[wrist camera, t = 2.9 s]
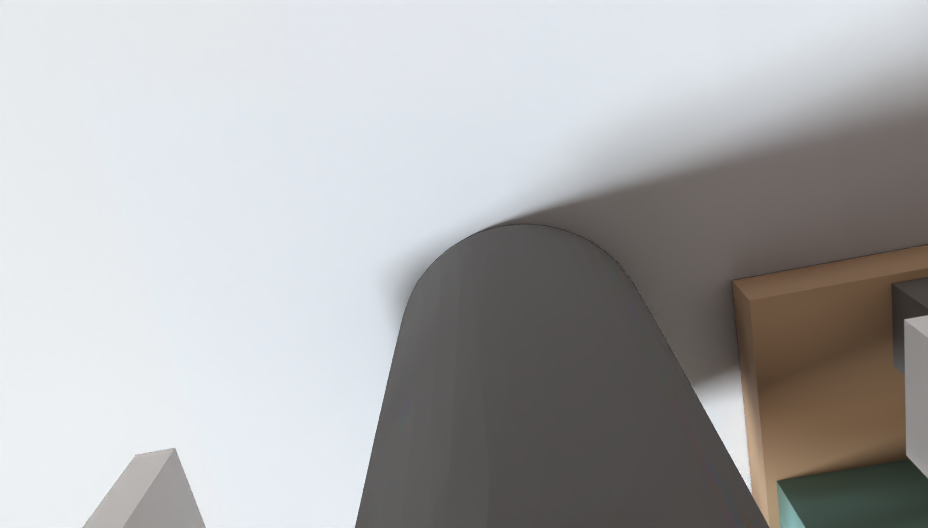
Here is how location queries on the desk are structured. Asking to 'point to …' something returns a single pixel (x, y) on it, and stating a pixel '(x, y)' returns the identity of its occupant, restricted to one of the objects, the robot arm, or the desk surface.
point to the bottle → (542, 401)
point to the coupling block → (832, 391)
